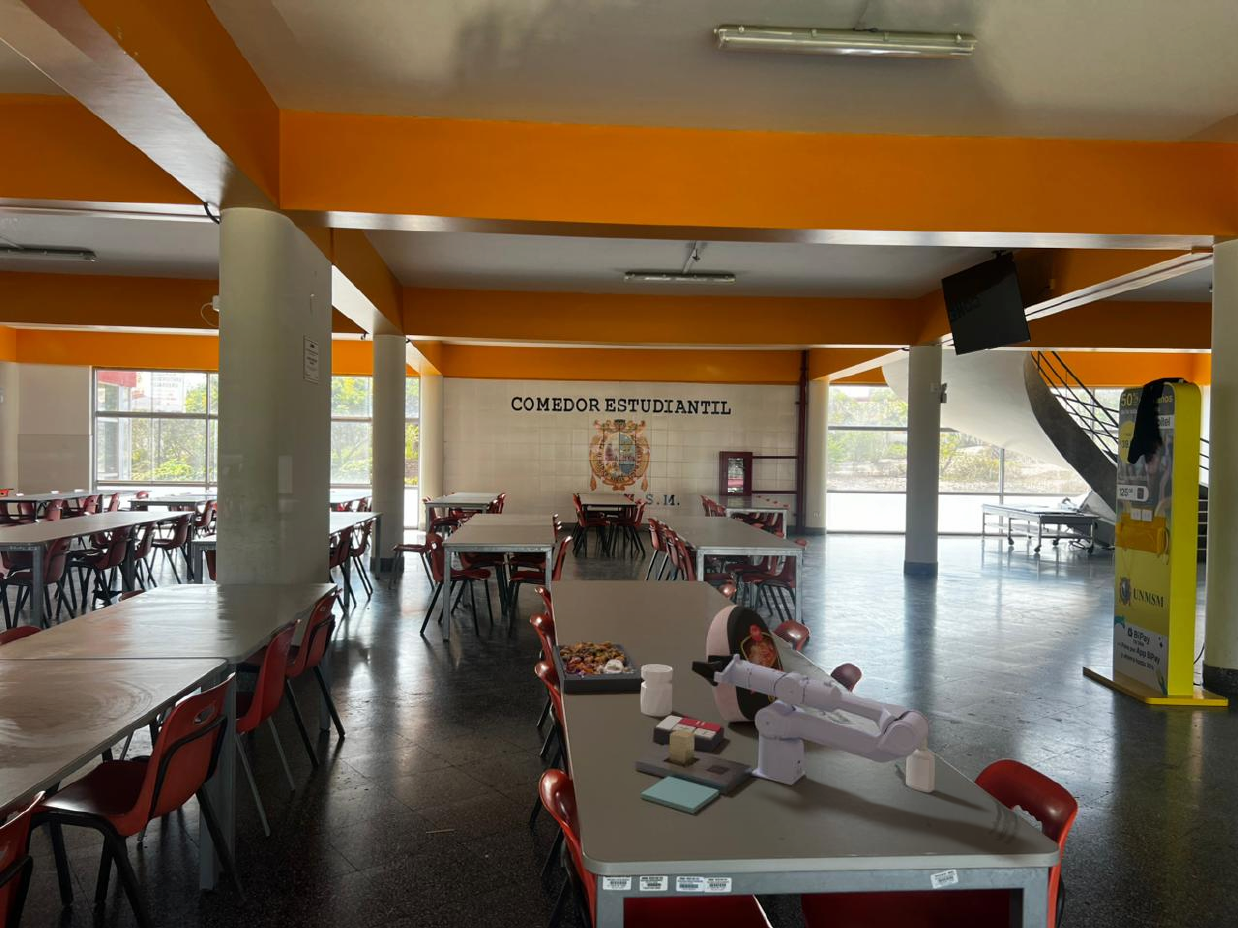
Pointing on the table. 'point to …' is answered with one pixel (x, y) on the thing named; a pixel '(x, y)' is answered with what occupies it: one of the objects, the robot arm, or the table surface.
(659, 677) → the white jar
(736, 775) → the grey square-hole board
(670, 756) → the wooden block
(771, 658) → the packaged food
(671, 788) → the pad
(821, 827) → the table surface
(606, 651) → the food platter
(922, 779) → the eye dropper bottle
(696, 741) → the calculator
